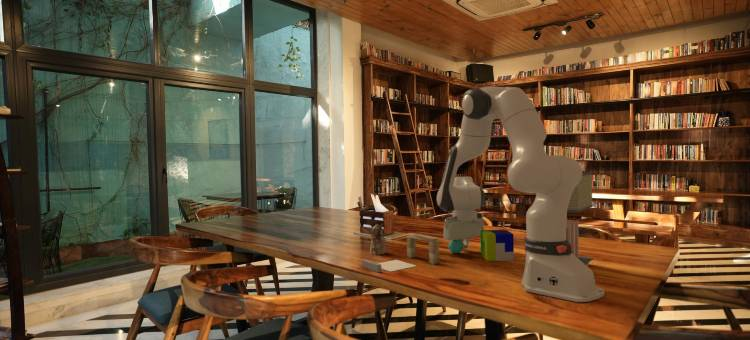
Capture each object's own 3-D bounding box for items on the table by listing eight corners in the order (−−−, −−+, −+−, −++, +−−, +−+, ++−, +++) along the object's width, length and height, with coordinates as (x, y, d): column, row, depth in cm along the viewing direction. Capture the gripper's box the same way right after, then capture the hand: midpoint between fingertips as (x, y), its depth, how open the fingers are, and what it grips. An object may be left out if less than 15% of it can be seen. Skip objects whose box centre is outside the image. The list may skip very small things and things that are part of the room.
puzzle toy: (513, 260, 158) (513, 234, 157) (487, 260, 158) (486, 234, 158) (506, 254, 168) (505, 229, 167) (480, 254, 168) (480, 230, 168)
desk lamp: (579, 275, 135) (579, 174, 135) (535, 269, 144) (534, 174, 144) (593, 264, 149) (593, 172, 149) (552, 258, 158) (551, 172, 158)
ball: (465, 253, 170) (465, 239, 170) (456, 255, 167) (455, 241, 167) (455, 251, 175) (455, 237, 175) (446, 253, 172) (445, 239, 171)
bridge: (412, 255, 168) (412, 232, 168) (438, 263, 155) (438, 238, 155) (407, 257, 166) (406, 233, 166) (432, 264, 154) (432, 239, 154)
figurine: (366, 252, 176) (366, 223, 176) (382, 250, 179) (381, 222, 179) (374, 255, 170) (373, 226, 170) (389, 253, 173) (389, 224, 173)
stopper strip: (381, 271, 145) (381, 264, 145) (377, 272, 144) (377, 265, 144) (365, 266, 153) (365, 259, 153) (362, 266, 152) (361, 259, 152)
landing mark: (416, 266, 151) (416, 265, 151) (390, 271, 144) (390, 271, 144) (396, 260, 161) (396, 259, 161) (370, 265, 154) (370, 264, 154)
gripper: (450, 218, 164) (451, 253, 165) (486, 213, 176) (486, 246, 176) (439, 216, 170) (440, 250, 170) (474, 212, 181) (475, 244, 181)
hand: (464, 248), depth 173 cm, fingers closed
